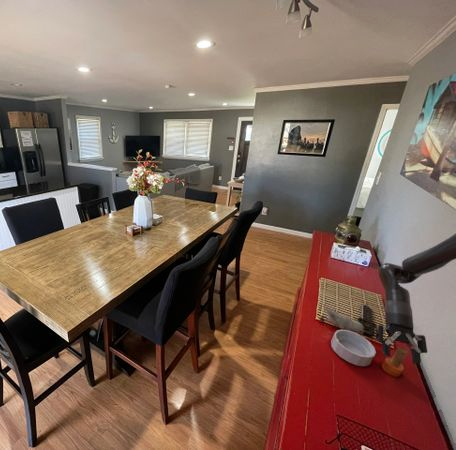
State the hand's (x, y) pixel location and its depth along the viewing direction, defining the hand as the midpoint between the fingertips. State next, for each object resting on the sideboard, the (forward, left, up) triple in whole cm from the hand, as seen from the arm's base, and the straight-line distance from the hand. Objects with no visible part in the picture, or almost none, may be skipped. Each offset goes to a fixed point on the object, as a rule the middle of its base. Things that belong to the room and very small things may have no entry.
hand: (401, 359), depth 87 cm
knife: (+24, -19, -8) cm, 32 cm away
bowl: (+11, +7, -8) cm, 15 cm away
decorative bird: (+23, -1, -8) cm, 24 cm away
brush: (+1, -1, -8) cm, 8 cm away
